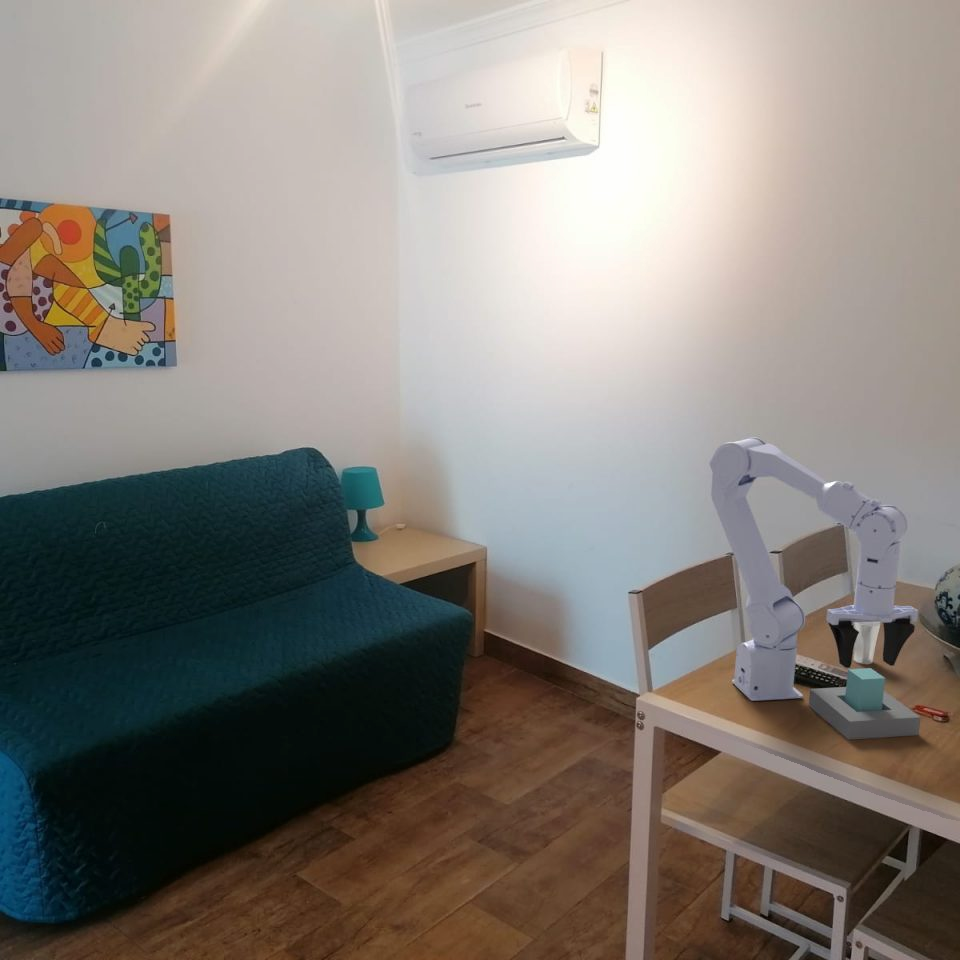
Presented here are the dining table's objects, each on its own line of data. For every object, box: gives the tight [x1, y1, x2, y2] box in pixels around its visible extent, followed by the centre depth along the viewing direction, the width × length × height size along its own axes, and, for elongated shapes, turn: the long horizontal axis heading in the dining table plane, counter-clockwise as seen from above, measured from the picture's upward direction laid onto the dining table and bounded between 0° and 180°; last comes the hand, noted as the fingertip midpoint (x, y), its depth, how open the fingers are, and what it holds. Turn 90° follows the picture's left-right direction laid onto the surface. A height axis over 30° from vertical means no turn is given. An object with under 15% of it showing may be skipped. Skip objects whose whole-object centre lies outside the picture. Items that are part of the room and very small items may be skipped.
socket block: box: [808, 686, 921, 740], centre depth 150 cm, size 12×12×3 cm
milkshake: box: [853, 622, 882, 665], centre depth 173 cm, size 5×5×10 cm
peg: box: [845, 667, 886, 712], centre depth 149 cm, size 4×4×8 cm
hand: (866, 664), depth 149 cm, fingers open, 7 cm apart
